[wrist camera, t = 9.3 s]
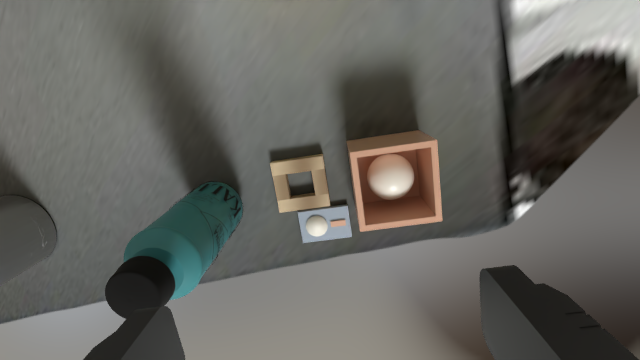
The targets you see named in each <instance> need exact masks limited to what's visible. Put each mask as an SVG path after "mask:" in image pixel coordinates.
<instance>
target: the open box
mask: <svg viewBox="0 0 640 360" xmlns="http://www.w3.org/2000/svg"><path fill="white" fill-rule="evenodd" d="M347 149H348V156H349V164H350V171H351V178H352V186H353V193H354V201H355V208H356V213H357V218H358V223H359V228H360V232H362V231H370V230H378V229H385V228H393V227H401V226H408V225H416V224H424V223H432V222H439V221H442V207H441V192H440V177H439V161H438V146H437V140H436V139H434V138H433V137H431V136H429V135H427V134H425V133H423V132H421V131H420V130H416V131H409V132H403V133H396V134H389V135H382V136H375V137H369V138H362V139H355V140H348V141H347ZM384 154H397V155H400V156H402V157H404V158H405V159H406V160H408V162H409V163H410V164H411V166H412V168H413V171H414V182H413V185H412V187H411V189H410V190H409V192H408V193H407V194H405V195H404V196H403V197H401V198H398V199H394V200H388V199H383V198H381V197H379V196H377V195H376V194H375V193H374V192H373V191H372V190H371V189H370V187H369V185H368V181H367V172H368V169H369V167H370V165H371V163H372V162H373V161H374V160H375V159H376V158H377V157H379V156H381V155H384Z"/></svg>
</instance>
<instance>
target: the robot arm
mask: <svg viewBox="0 0 640 360" xmlns="http://www.w3.org/2000/svg"><path fill="white" fill-rule="evenodd" d="M55 244H56V230H55V226H54V224H53V222H52V220H51V218H50V216H49V215H48V214H47V212H46V211H45V210H44V209H43V208H42V207H40V206H39V205H38V204H36V203H35V202H33V201H31V200H29V199H27V198H25V197H21V196H16V195H7V196H1V197H0V286H1V285H3V284H5V283H6V282H8V281H9V280H11V279H13V278H14V277H16V276H18V275H19V274H21V273H23V272H24V271H26V270H27V269H29V268H31V267H32V266H34V265H35V264H37V263H39V262H40V261H42V260H43V259H45V258H46V257H48V256H49V255H50V254H51V253H52V251H53V249H54V247H55ZM480 302H481V322H482V330H483V335H484V338H485V340H486V344H487V346H488V348H489V350H490V352H491V354H492V355H493V357H494V359H495V360H639V359H637V358H636V357H635V356H634V355H633V354H632V353H631V352H630V351H629V350H628V349H626V348H625V347H624V346H623V345H622V344H621V343H620V342H619V341H618V340H616V339H615V338H614V337H613V336H612V335H611V334H610V333H608V332H607V331H606V330H605V329H602V328H601V326H600V324H599V323H598V322H596V321H595V320H594V319H593V318H592V317H591V316H590V315H586V313H585V311H584V310H583V309H582V308H581V307H580V306H579V305H578V304H576V303H575V302H574V301H573V300H572V299H571V298H570V297H569V296H568V295H565V294H564V293H562V292H560V291H558V290H556V289H554V288H552V287H550V286H548V285H546V284H534V283H533V282H532V281H531V280H530V279H529V278H528V277H527V276H526V275H525V274H524V273H523V272H522V271H521V270H520V269H519V268H518V267H517V266H514V265H512V266H503V267H494V268H486V269H482V270H481V272H480ZM84 360H185V355H184V351H183V348H182V345H181V342H180V338H179V335H178V332H177V328H176V325H175V322H174V318H173V315H172V312H171V310H170V309H169V308H168V307H166V306H161V307H153V308H145V309H137V310H135V311H133V312H132V313H131V314H130V316H129V317H128V318H127V319H126V320H125V321H124V323H123V324H122V325H121V326H120V327H119V328H118V330H117V331H116V332H114V333H113V334H112V335H110V336H109V337H107V338H106V339H105V340H103V341H102V342H101V343H99V344H98V345H97V346H95V347H94V348H93V349H92V350H91V352H90V353H89V354H88V355H87V356H86V357H85V358H84Z"/></svg>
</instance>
